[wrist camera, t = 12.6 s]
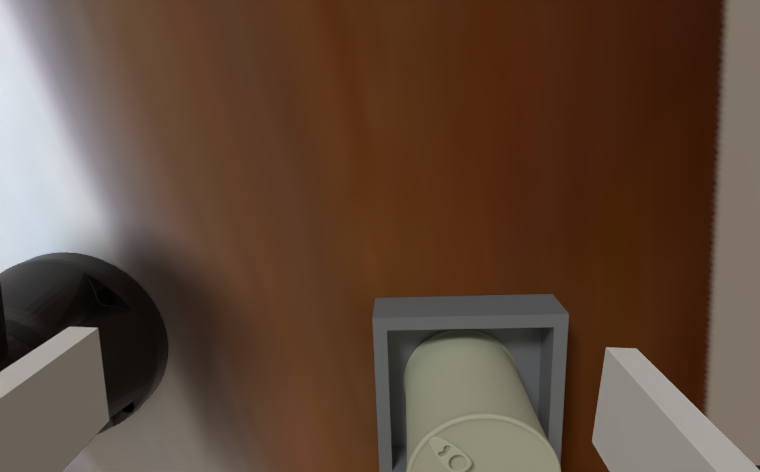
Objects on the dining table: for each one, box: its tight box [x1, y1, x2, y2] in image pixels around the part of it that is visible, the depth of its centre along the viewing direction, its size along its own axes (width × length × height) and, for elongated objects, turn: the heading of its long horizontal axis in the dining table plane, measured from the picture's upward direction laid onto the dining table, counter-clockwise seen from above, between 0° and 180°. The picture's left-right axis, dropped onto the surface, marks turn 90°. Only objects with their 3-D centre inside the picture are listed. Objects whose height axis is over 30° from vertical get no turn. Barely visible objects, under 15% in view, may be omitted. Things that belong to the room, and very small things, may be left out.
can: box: [403, 329, 561, 472], centre depth 34 cm, size 9×9×12 cm
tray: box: [373, 294, 569, 472], centre depth 39 cm, size 14×14×4 cm
